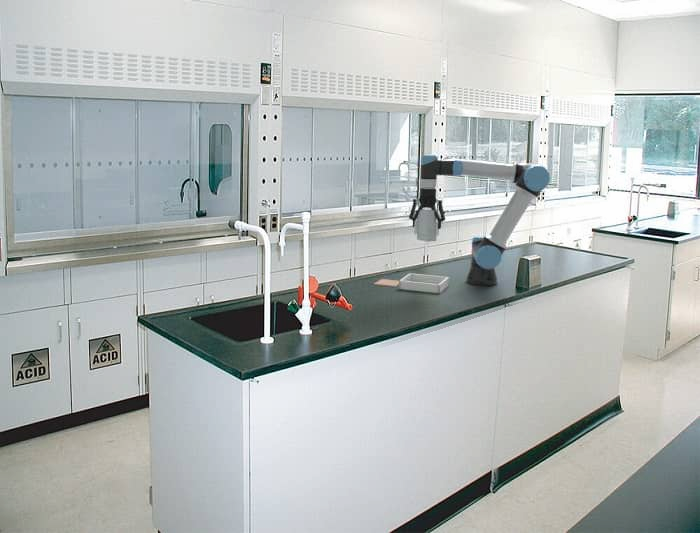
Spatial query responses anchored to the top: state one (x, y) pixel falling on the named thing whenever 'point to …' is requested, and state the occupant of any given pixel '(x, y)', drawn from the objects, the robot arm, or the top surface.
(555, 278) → the top surface
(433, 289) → the bin
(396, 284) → the tile
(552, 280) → the top surface
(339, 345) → the top surface
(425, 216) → the skincare box
